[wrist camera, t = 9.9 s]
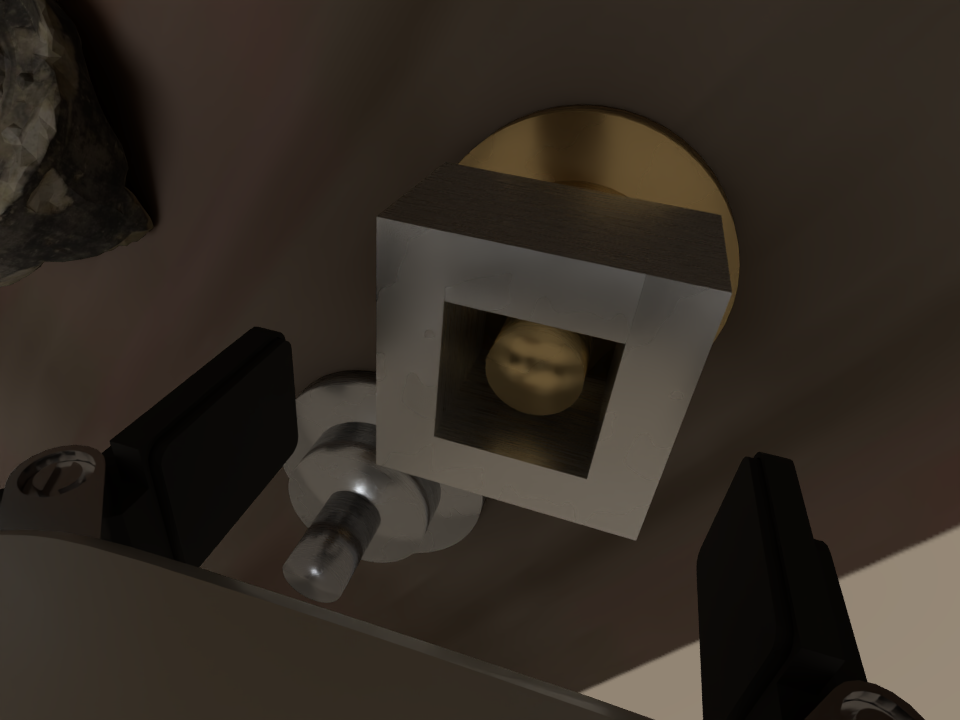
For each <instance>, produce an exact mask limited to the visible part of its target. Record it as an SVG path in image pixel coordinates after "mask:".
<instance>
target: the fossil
mask: <svg viewBox="0 0 960 720" xmlns="http://www.w3.org/2000/svg"><path fill="white" fill-rule="evenodd" d="M127 172H128V163H127V160H126V156H125V153H124V150H123V147H122V145H121V143H120V141H119V139H118V138H117V136H116V134H115V133H114V131H113V130H112V128H111V126H110V124H109V123H108V121H107V119H106V117H105V116H104V113H103V111H102V109H101V107H100V105H99V102H98V99H97V96H96V94H95V91H94V88H93V86H92V83H91V80H90V77H89V73H88V70H87V66H86V62H85V58H84V55H83V51H82V43H81V38H80V36H79V34H78V31H77V29H76V26H75V24H74V23H73V22H72V20H71V19H70V18H69V17H68V16H67V14H66V13H65V12H64V11H63V9H62V8H61V7H60V6H59V5H58V3H57V2H56V1H55V0H0V287H2V286H8V285H11V284H13V283H15V282H17V281H19V280H20V279H22V278H24V277H27V276H28V275H30V274H31V273H32V272H34V271H35V270H36V269H38V268H39V267H41V265H42V264H43V263H44V261H46V262H66V261H73V260H79V259H85V258H89V257H94V256H98V255H100V254H102V253H104V252H106V251H111V250H113V249H115V248H116V247H118V246H119V245H121V246H127V245H128V244H130V243H131V242H137V241H138V240H140V239H141V238H142V237H144V236H145V234H146V233H147V232H148V231H150V230H151V229H153V223H152V221H151V218H150V217H149V215H148V214H147V212H146V211H145V210H144V208H143V207H142V205H141V204H140V203H139V201H138V200H137V198H136V197H135V195H134V194H133V193H132V192H131V191H130V190H128V189H127V188H126V187H125V181H126V175H127Z"/></svg>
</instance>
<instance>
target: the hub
mask: <svg viewBox="0 0 960 720" xmlns="http://www.w3.org/2000/svg"><path fill="white" fill-rule="evenodd" d="M459 165H464V166H469V167H474V168H479V169H485V170H490V171H495V172H500V173H505V174H511V175H516V176H521V177H526V178H531V179H537V180H542V181H547V182H552V183H557V184H563V185H568V186H573V187H578V188H583V189H589V190H594V191H599V192H604V193H610V194H615V195H620V196H625V197H630V198H636V199H641V200H646V201H651V202H656V203H662V204H667V205H672V206H677V207H682V208H688V209H693V210H698V211H703V212H708V213H714V214H719V215H721V217H722V224H723V231H724V238H725V245H726V252H727V259H728V267H729V274H730V281H731V288H732V295H731V297H730V300H729V302H728V305H727V307H726V310H725V313H724V315H723V318H722V320H721V323H720V326H719V328H718V331H717V333H716V336H715V338H714V341H715V340H716V338H717V337H718V335H719V333H720V332H721V330H722V328H723V327H724V325H725V323H726V321H727V318H728V316H729V314H730V311H731V309H732V306H733V303H734V299H735V295H736V291H737V287H738V278H739V268H740V263H739V245H738V240H737V235H736V230H735V225H734V220H733V215H732V211H731V208H730V206H729V203H728V200H727V198H726V195H725V192H724V191H723V189H722V187H721V185H720V183H719V182H718V180H717V178H716V176H715V175H714V173H713V172H712V170H711V169H710V168H709V166H708V165H707V164H706V163H705V161H704V160H703V159H702V157H701V156H700V155H699V154H698V153H697V152H696V151H695V150H694V149H692V148H691V147H690V146H689V145H688V144H687V143H686V142H685V141H684V140H683V139H681V138H680V137H678V136H677V135H676V134H674V133H673V132H671V131H670V130H668V129H667V128H666V127H664V126H662V125H660V124H658V123H656V122H654V121H652V120H650V119H648V118H646V117H643V116H640V115H637V114H634V113H631V112H629V111H626V110H622V109H616V108H611V107H606V106H597V105H570V106H559V107H554V108H549V109H545V110H541V111H537V112H534V113H531V114H529V115H526V116H524V117H521V118H518V119H516V120H514V121H512V122H511V123H509V124H507V125H505V126H503V127H502V128H500V129H498V130H497V131H495V132H494V133H493V134H492V135H490V136H489V137H488V138H486V139H485V140H484V141H482V142H481V143H480V144H479V145H478V146H476V147H475V148H474V149H473V150H471V152H470V153H469V154H468V155H467V156H466V157H465V158H464V159H463V160H462V161H461V162H460V163H459ZM714 341H713V343H714ZM616 344H617V342H615V341H611V340H606V339H602V338H598V337H594V336H589V335H585V334H581V333H577V332H573V331H568V330H564V329H560V328H556V327H551V326H547V325H543V324H539V323H534V322H530V321H526V320H522V319H517V318H513V317H509V316H505V315H500V314H496V313H492V312H488V311H486V319H485V327H484V335H483V343H482V349H485V350H489V353H488V356H487V359H486V365H485V370H486V376H487V379H488V382H489V384H490V386H491V388H492V390H493V391H494V392H495V394H496V395H497V396H498V397H499V398H500V399H501V400H502V401H503V402H504V403H506V404H507V405H509V406H510V407H512V408H514V409H516V410H518V411H521V412H524V413H527V414H532V415H550V414H555V413H558V412H561V411H563V410H565V409H567V408H568V407H570V406H571V405H572V404H573V403H574V402H575V401H576V400H577V399H578V397H579V396H580V394H581V391H582V388H583V385H584V381H585V377H586V375H590V376H594V377H598V378H602V379H606V380H607V376H608V373H609V369H610V365H611V362H612V358H613V355H614V351H615V347H616Z"/></svg>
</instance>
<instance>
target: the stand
mask: <svg viewBox="0 0 960 720" xmlns="http://www.w3.org/2000/svg"><path fill="white" fill-rule="evenodd" d="M295 400H296V413H297V426H298V443H297V447H296V449H295V451H294V453H293V454H292V455H291V457H290V458H289V459H288V460H287V461H286V463H285V464H284V465H283V467H284V469H285V472H286V474H287V476H288V477H289V486H288V489H289V496H290V500H291V503H292V505H293V508H294V509H295V511H296V513H297V515H298V516H299V518H300V519H301V521H302V522H303V523H304V524H305V525H306V526H307V528H308V530H307V531H306V533H305V534H304V536H303V537H302V539H301V540H300V541H299V543H298V544H297V546H296V547H295V549H294V550H293V552H292V553H291V555H290V556H289V558H288V559H287V561H286V562H285V564H284V565H283V574H284V577H285V579H286V580H287V582H288V583H289V584H290V585H291V586H292V587H293V588H294V589H295V590H296V591H298V592H299V593H300V594H302V595H304V596H305V597H307V598H310V599H312V600H315V601H318V602H325V603H329V602H334V601H336V600H338V599H339V598H340V596H341V594H342V593H343V591H344V589H345V587H346V585H347V584H348V582H349V580H350V578H351V576H352V575H353V573H354V571H355V569H356V567H357V566H358V564H359V562H360V560H365V561H370V562H379V563H388V562H395V561H399V560H402V559H405V558H407V557H409V556H410V555H412V554H413V553H428V552H433V551H439V550H442V549H445V548H448V547H450V546H452V545H454V544H456V543H458V542H459V541H461V540H462V539H464V538H465V537H466V536H467V535H468V534H469V533H470V532H471V531H472V529H473V527H474V526H475V524H476V523H477V520H478V518H479V515H480V512H481V510H482V507H483V505H484V502H485V499H486V496H482V495H479V494H476V493H472V492H469V491H465V490H462V489H459V488H455V487H452V486H448V485H445V484H442V483H438V482H435V481H431V480H428V479H424V478H421V477H418V476H414V475H411V474H407V473H404V472H401V471H397V470H394V469H390V468H387V467H384V466H380V465H377V464H376V373H375V372H369V371H346V372H339V373H334V374H330V375H327V376H325V377H322V378H320V379H318V380H317V381H315V382H313V383H312V384H310V385H309V386H308V387H307V388H306V389H305V390H304V391H303V392H302V393H301V394H300V395H299V396H298V397H297V398H296V399H295Z"/></svg>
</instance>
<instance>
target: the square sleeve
mask: <svg viewBox="0 0 960 720" xmlns="http://www.w3.org/2000/svg"><path fill="white" fill-rule="evenodd" d="M731 295H732V288H731V281H730V274H729V267H728V259H727V252H726V245H725V238H724V231H723V224H722V217H721V215H719V214H714V213H708V212H703V211H698V210H693V209H688V208H682V207H677V206H672V205H667V204H662V203H656V202H651V201H646V200H641V199H636V198H630V197H625V196H620V195H615V194H610V193H604V192H599V191H594V190H589V189H583V188H578V187H573V186H568V185H563V184H557V183H552V182H547V181H542V180H537V179H531V178H526V177H521V176H516V175H511V174H505V173H500V172H495V171H490V170H485V169H479V168H474V167H469V166H464V165H459V164H453V163H448V162H445V163H444V164H443V165H442V166H440V167H439V168H438V169H437V170H435V171H434V172H433V173H431V174H430V175H429V176H428V177H426V178H425V179H424V180H423V181H421V182H420V183H419V184H418V185H416V186H415V187H414V188H412V189H411V190H410V191H409V192H407V193H406V194H405V195H404V196H402V197H401V198H400V199H398V200H397V201H396V202H395V203H393V204H392V205H391V206H390V207H388V208H387V209H386V210H385V211H383V212H382V213H381V214H379V215H378V216H377V235H376V464H377V465H380V466H384V467H387V468H390V469H394V470H397V471H401V472H404V473H407V474H411V475H414V476H418V477H421V478H424V479H428V480H431V481H435V482H438V483H442V484H445V485H448V486H452V487H455V488H459V489H462V490H465V491H469V492H472V493H476V494H479V495H482V496H486V497H489V498H493V499H496V500H499V501H503V502H506V503H510V504H513V505H516V506H520V507H523V508H527V509H530V510H533V511H537V512H540V513H544V514H547V515H551V516H554V517H557V518H561V519H564V520H568V521H571V522H574V523H578V524H581V525H585V526H588V527H591V528H595V529H598V530H602V531H605V532H608V533H612V534H615V535H619V536H622V537H625V538H629V539H632V540H636V539H637V537H638V534H639V532H640V529H641V526H642V524H643V521H644V519H645V516H646V514H647V511H648V508H649V506H650V503H651V501H652V498H653V496H654V493H655V490H656V488H657V485H658V483H659V480H660V477H661V475H662V472H663V470H664V467H665V465H666V462H667V459H668V457H669V454H670V452H671V449H672V447H673V444H674V441H675V439H676V436H677V434H678V431H679V429H680V426H681V423H682V421H683V418H684V416H685V413H686V411H687V408H688V405H689V403H690V400H691V398H692V395H693V392H694V390H695V387H696V385H697V382H698V380H699V377H700V374H701V372H702V369H703V367H704V364H705V362H706V359H707V356H708V354H709V351H710V349H711V346H712V344H713V341H714V338H715V336H716V333H717V331H718V328H719V326H720V323H721V320H722V318H723V315H724V313H725V310H726V307H727V305H728V302H729V300H730V297H731ZM486 311H488V312H492V313H496V314H500V315H505V316H509V317H513V318H517V319H522V320H526V321H530V322H534V323H539V324H543V325H547V326H551V327H556V328H560V329H564V330H568V331H573V332H577V333H581V334H585V335H589V336H594V337H598V338H602V339H606V340H611V341H615V342H617V344H616V347H615V351H614V355H613V358H612V362H611V365H610V369H609V373H608V376H607V380H606V379H602V378H598V377H594V376H590V375H586V377H585V381H584V385H583V388H582V391H581V394H580V396H579V397H578V399H577V400H576V401H575V402H574V403H573V404H572V405H571V406H570V407H568V408H567V409H565V410H563V411H561V412H558V413H555V414H550V415H532V414H527V413H524V412H521V411H518V410H516V409H514V408H512V407H510V406H509V405H507V404H506V403H504V402H503V401H502V400H501V399H500V398H499V397H498V396H497V395H496V394H495V392H494V391H493V390H492V388H491V386H490V384H489V382H488V379H487V376H486V370H485V365H486V359H487V356H488V353H489V350H485V349H482V343H483V335H484V327H485V319H486Z"/></svg>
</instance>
